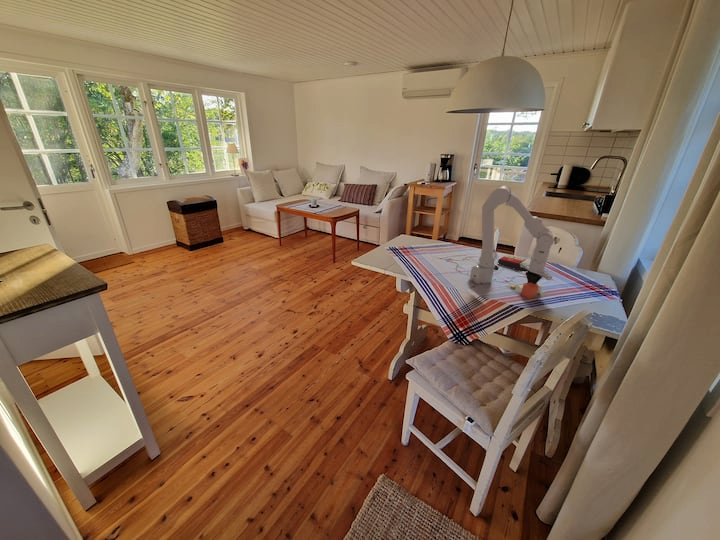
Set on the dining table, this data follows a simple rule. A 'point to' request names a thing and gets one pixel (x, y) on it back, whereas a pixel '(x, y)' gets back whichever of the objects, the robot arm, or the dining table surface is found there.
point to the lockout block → (529, 290)
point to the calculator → (513, 262)
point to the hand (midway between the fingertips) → (530, 287)
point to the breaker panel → (519, 288)
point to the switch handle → (539, 287)
